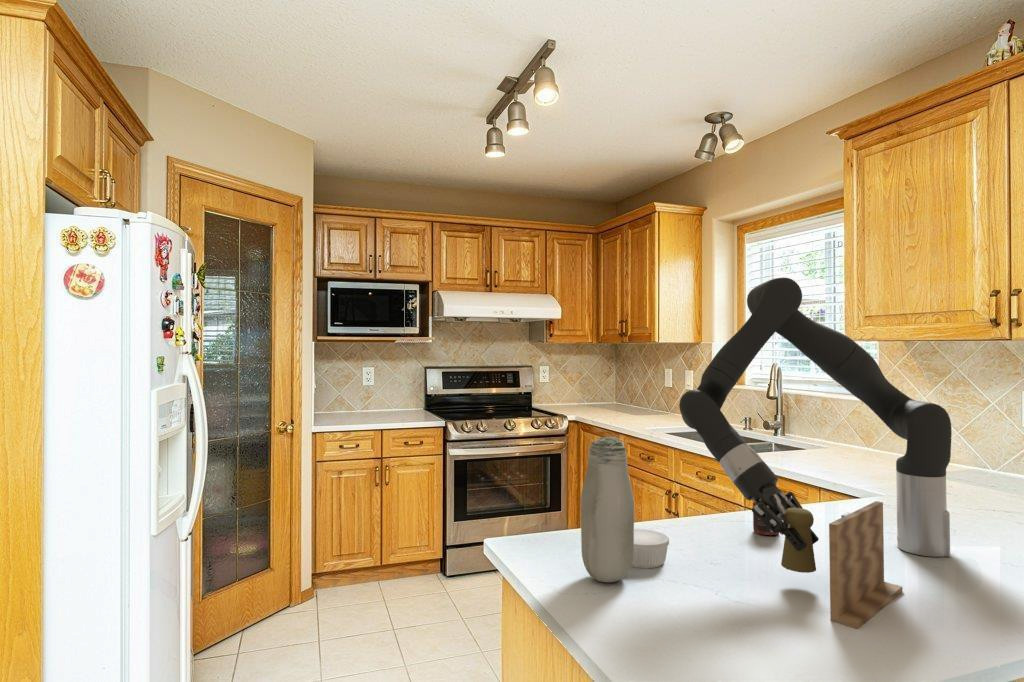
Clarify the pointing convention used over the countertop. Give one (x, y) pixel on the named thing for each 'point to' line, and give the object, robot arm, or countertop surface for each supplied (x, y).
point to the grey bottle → (607, 512)
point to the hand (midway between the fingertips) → (808, 545)
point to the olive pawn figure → (802, 525)
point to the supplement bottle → (761, 525)
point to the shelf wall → (858, 567)
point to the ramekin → (649, 548)
